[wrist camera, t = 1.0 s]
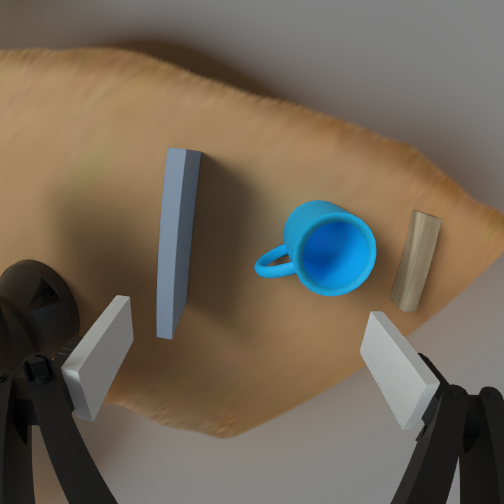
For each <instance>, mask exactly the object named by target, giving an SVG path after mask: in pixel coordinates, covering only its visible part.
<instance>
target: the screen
mask: <svg viewBox="0 0 504 504" xmlns="http://www.w3.org/2000/svg"><path fill="white" fill-rule="evenodd" d="M201 153H202V152H200V151H194V150H187V149H177V148H168V151H167V159H166V168H165V177H164V187H163V197H162V209H161V222H160V236H159V253H158V276H157V337H160V338H165V339H171V340H172V338H173V336H174V333H175V330H176V328H177V325H178V323H179V320H180V318H181V315H182V312H183V310H184V307H185V305H186V302H187V294H188V279H189V266H190V254H191V243H192V232H193V222H194V212H195V203H196V194H197V185H198V177H199V169H200V161H201Z"/></svg>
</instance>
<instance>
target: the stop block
mask: <svg viewBox="0 0 504 504" xmlns="http://www.w3.org/2000/svg"><path fill="white" fill-rule="evenodd" d="M441 220H442V219H440V218H438V217H435V216H432V215H430V214H427V213H424V212H420V211H415V210H413V211H412V216H411V221H410V225H409V230H408V234H407V238H406V243H405V247H404V251H403V255H402V258H401V262H400V266H399V270H398V273H397V277H396V280H395V284H394V287H393V291H392V294H391V297H390V298H391V299H392V301H393V302H394V303H395V304H396V305H397V306H398V307H399V308H400V309H401V310H402V311H403V312H416V309H417V306H418V303H419V300H420V297H421V294H422V291H423V287H424V284H425V281H426V278H427V274H428V271H429V267H430V264H431V260H432V257H433V253H434V249H435V245H436V241H437V237H438V233H439V229H440V224H441Z"/></svg>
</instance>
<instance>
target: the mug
mask: <svg viewBox="0 0 504 504" xmlns="http://www.w3.org/2000/svg"><path fill="white" fill-rule="evenodd" d="M283 238H284V244H283V245H281V246H278V247H276V248H274V249H272V250H270V251H269V252H267V253H266V254H264V255H263V256H261V257H260V258H259V259H258V260H257V261H256V264H255V267H254V268H255V271H256V272H257V274H258V275H259V276H261V277H265V278H278V277H283V276H288V275H292V274H295V273H296V274H297V275H298V277H299V279H300V281H301V283H303V284H304V285H305V286H306V287H307V288H308V289H309V290H310V291H313V292H315V293H318V294H320V295H324V296H338V295H342V294H347V293H349V292H350V291H352V290H354V289H356V288H357V287H359V286H360V285H361V284H362V283H363V282H364V281H365V280H366V279H367V278H368V276H369V274H370V272H371V270H372V269H373V267H374V263H375V258H376V254H377V253H376V241H375V239H374V236H373V234H372V232H371V229H370V228H369V227H368V226H367V225H366V224H365V223H364V222H363V221H362V220H361V219H359V218H358V217H356V216H354V215H352V214H351V213H349V212H347V211H345V210H344V209H342V208H340V207H338V206H336V205H334V204H332V203H330V202H328V201H321V200H315V201H310V202H306V203H304V204H303V205H301V206H299V207H297V208H296V209H295V210H294V211H293V212H292V213H291V215H290V216H289V218H288V220H287V222H286V224H285V227H284V234H283ZM286 254H288V255H289V257H290V260H291V262H289V263H286V264H281V265H276V266H267V265H268V264H270V263H271V262H273V261H274V260H276V259H278V258H280V257H282V256H284V255H286Z"/></svg>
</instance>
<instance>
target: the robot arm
mask: <svg viewBox="0 0 504 504" xmlns="http://www.w3.org/2000/svg"><path fill="white" fill-rule="evenodd" d="M78 332H79V315H78V310H77V307H76V304H75V301H74V299H73V296H72V295H71V293H70V291H69V289H68V288H67V286H66V285H65V283H64V282H63V281H62V279H61V278H60V277H59V276H58V275H57V274H56V273H55V272H54V271H53V270H52V269H50V268H49V267H48V266H46V265H44V264H42V263H40V262H38V261H34V260H22V261H19V262H17V263H15V264H14V265H12V266H10V267H9V268H7V269H6V270H5V271H4V272H3V274H2V275H1V277H0V504H35V497H34V486H33V472H32V425H39V427H40V430H41V433H42V437H43V440H44V443H45V446H46V448H47V451H48V454H49V457H50V459H51V462H52V465H53V467H54V470H55V472H56V475H57V477H58V480H59V482H60V484H61V487H62V489H63V491H64V493H65V496H66V498H67V500H68V502H69V504H118V503H117V501H116V500H115V498H114V497H113V495H112V493H111V492H110V490H109V489H108V486H107V485H106V483H105V481H104V480H103V478H102V476H101V474H100V472H99V471H98V469H97V467H96V466H95V463H94V461H93V459H92V458H91V456H90V454H89V452H88V450H87V448H86V446H85V444H84V442H83V439H82V437H81V435H80V433H79V431H78V429H77V426H76V424H75V422H74V419H73V417H72V415H71V414H72V412H73V410H75V413H76V415H77V418H79V419H83V420H87V421H91V422H94V420H95V418H96V415H97V413H98V411H99V409H100V407H101V405H102V403H103V401H104V398H105V396H106V394H107V392H108V390H109V388H110V386H111V384H112V382H113V380H114V378H115V376H116V374H117V372H118V370H119V368H120V366H121V364H122V362H123V360H124V358H125V356H126V354H127V352H128V350H129V348H130V347H131V345H132V343H133V341H134V337H133V327H132V317H131V305H130V297H129V296H120V295H117V296H116V297H115V298H114V299H113V301H112V302H111V303H110V304H109V305H108V307H107V308H106V309H105V310H104V312H103V313H102V314H101V316H100V317H99V318H98V319H97V321H96V322H95V323H94V324H93V326H92V327H91V328H90V330H89V331H88V332H87V333H86V335H85V336H84V337H78V336H77V335H78ZM360 354H361V356H362V357H363V359H364V361H365V363H366V364H367V366H368V368H369V370H370V371H371V373H372V375H373V377H374V379H375V380H376V382H377V384H378V386H379V388H380V390H381V391H382V393H383V395H384V397H385V399H386V401H387V403H388V404H389V406H390V408H391V410H392V412H393V413H394V415H395V417H396V419H397V421H398V423H399V425H400V427H401V428H402V431H405V430H410V429H415V428H417V426H418V424H419V422H420V421H421V419H422V420H423V421H424V423H425V425H424V427H423V428H422V430H421V432H420V433H419V435H418V437H417V438H416V441H418V442H417V444H416V447H415V450H414V452H413V455H412V457H411V460H410V462H409V465H408V467H407V469H406V472H405V474H404V476H403V478H402V481H401V483H400V485H399V487H398V489H397V491H396V493H395V496H394V498H393V500H392V502H391V504H446V501H447V498H448V495H449V491H450V488H451V484H452V481H453V477H454V473H455V469H456V465H457V461H458V456H459V465H460V466H459V467H460V504H504V400H503V397H502V395H501V393H500V392H499V391H498V390H497V389H495V388H493V387H484V388H482V389H481V391H480V393H479V395H468V393H467V392H466V390H465V389H463V388H462V387H460V386H458V385H453V384H452V385H450V384H449V383H448V382H447V381H446V379H445V378H444V377H443V376H442V374H441V373H440V372H439V371H438V370H437V369H436V367H435V366H434V365H433V363H432V362H431V361H430V360H429V359H428V358H427V357H426V356H424V355H423V354H421V353H416V351H415V350H414V349H413V348H412V347H411V345H410V344H409V343H408V341H407V340H406V339H405V338H404V337H403V335H402V334H401V333H400V332H399V330H398V329H397V328H396V327H395V326H394V324H393V323H392V322H391V321H390V320H389V319H388V317H387V316H386V315H385V314H384V313H383V311H371V312H370V316H369V320H368V324H367V327H366V331H365V335H364V338H363V342H362V345H361V349H360ZM54 357H55V358H54ZM53 358H54V359H53ZM52 359H53V361H52Z"/></svg>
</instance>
